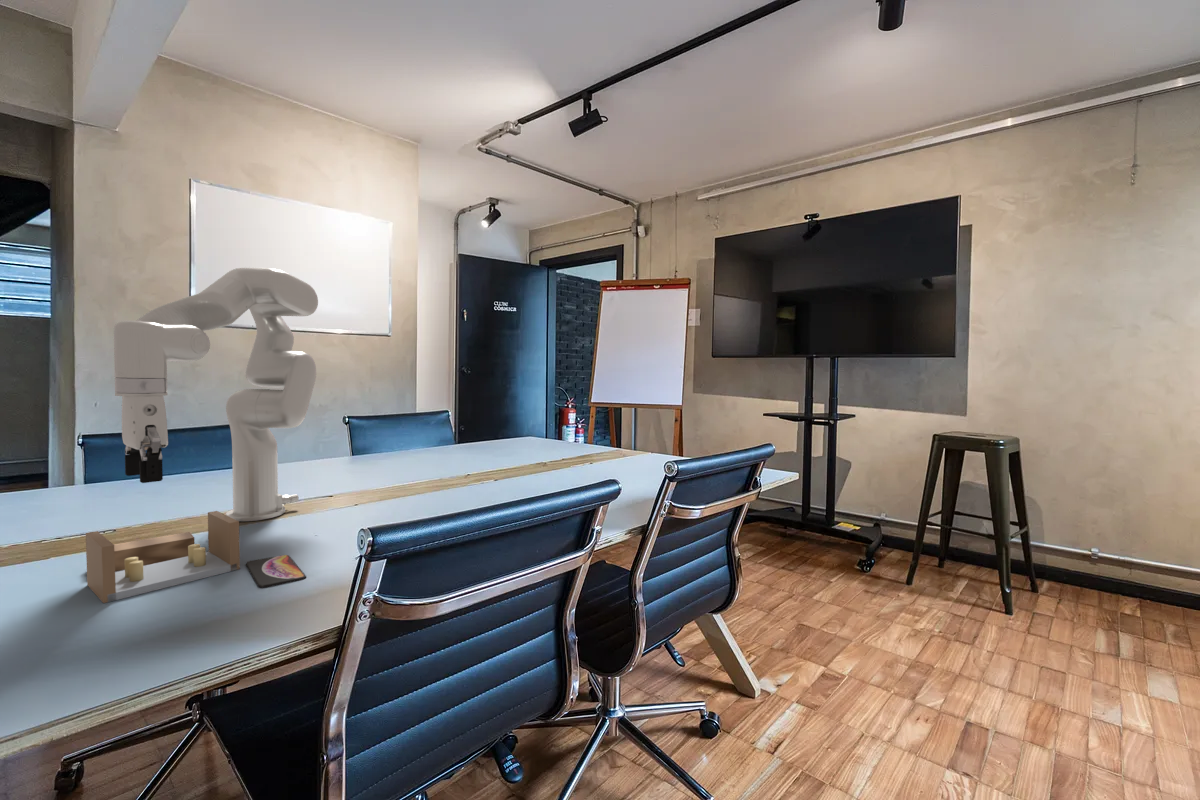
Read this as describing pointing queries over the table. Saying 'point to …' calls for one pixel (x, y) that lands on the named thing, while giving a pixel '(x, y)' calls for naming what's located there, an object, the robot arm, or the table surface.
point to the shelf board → (153, 549)
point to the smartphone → (274, 571)
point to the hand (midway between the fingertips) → (143, 478)
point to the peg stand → (162, 563)
